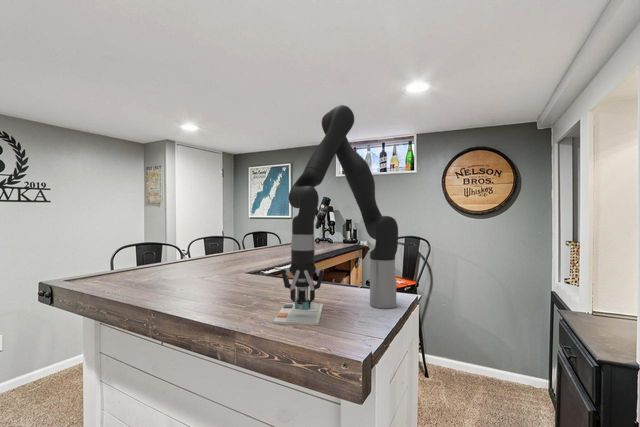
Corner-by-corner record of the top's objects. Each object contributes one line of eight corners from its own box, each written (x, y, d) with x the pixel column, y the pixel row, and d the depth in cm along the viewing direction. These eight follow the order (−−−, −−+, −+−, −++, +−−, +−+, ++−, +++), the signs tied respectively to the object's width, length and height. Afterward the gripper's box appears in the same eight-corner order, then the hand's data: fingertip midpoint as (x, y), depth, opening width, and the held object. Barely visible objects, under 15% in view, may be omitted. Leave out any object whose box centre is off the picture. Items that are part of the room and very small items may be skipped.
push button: (317, 308, 100) (317, 277, 100) (310, 312, 95) (310, 280, 95) (298, 305, 103) (298, 275, 103) (291, 310, 98) (291, 278, 98)
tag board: (322, 306, 114) (322, 302, 114) (318, 325, 94) (318, 320, 94) (285, 305, 115) (285, 301, 115) (273, 323, 95) (273, 319, 95)
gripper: (325, 247, 103) (325, 298, 102) (283, 246, 104) (282, 297, 103) (324, 249, 95) (324, 305, 95) (278, 249, 96) (278, 304, 96)
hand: (302, 301), depth 99 cm, fingers closed on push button, 5 cm apart
